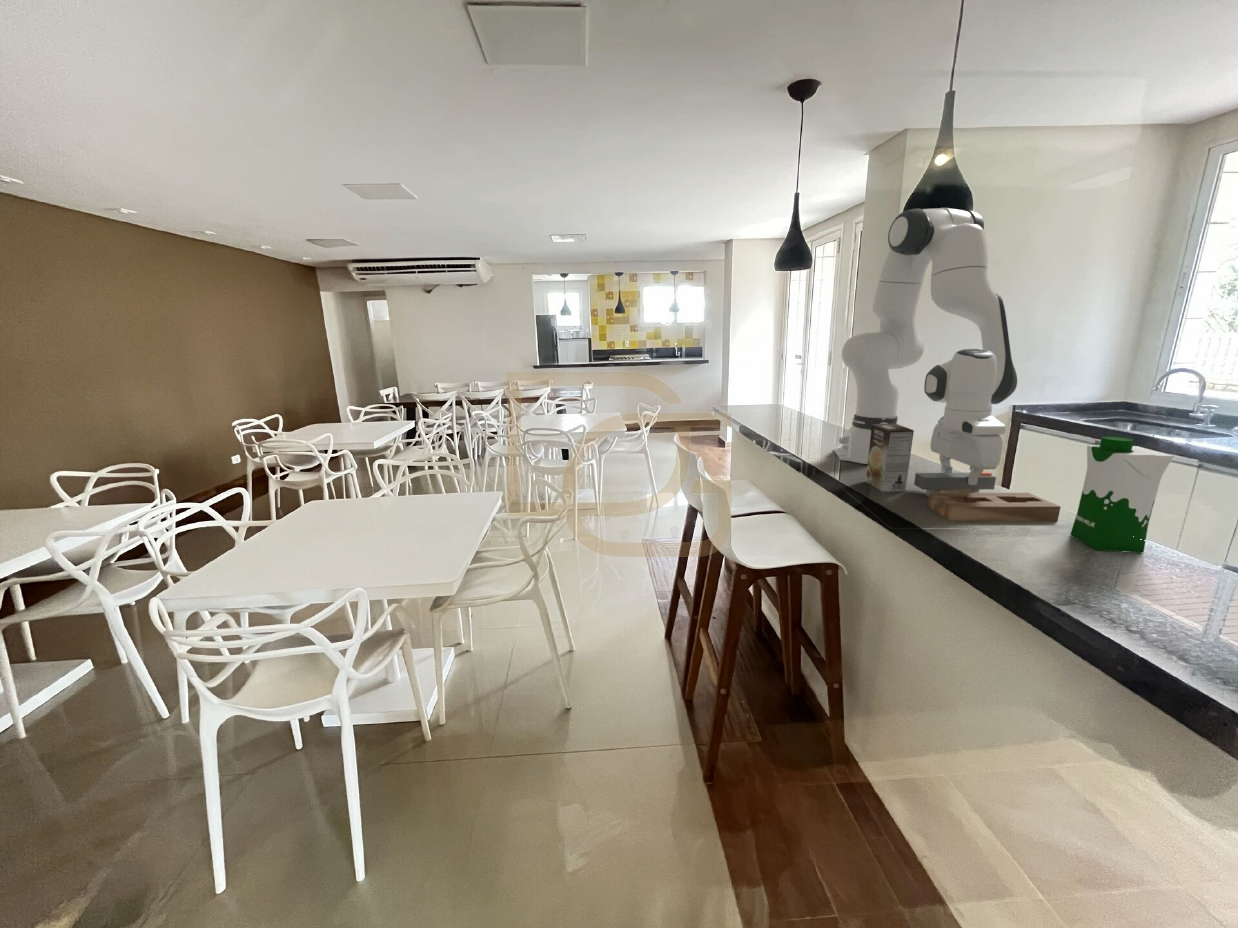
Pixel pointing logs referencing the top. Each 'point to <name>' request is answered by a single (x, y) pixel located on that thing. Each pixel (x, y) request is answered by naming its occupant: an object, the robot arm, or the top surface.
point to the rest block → (954, 491)
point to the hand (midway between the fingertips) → (958, 478)
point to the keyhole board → (993, 507)
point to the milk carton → (1118, 494)
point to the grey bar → (952, 481)
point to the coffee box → (889, 457)
